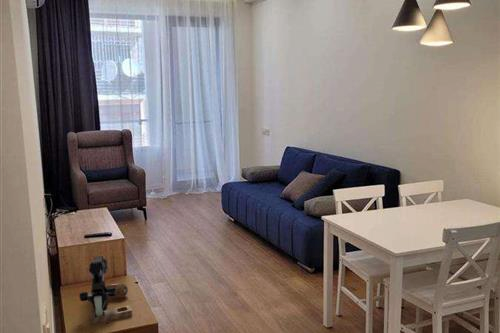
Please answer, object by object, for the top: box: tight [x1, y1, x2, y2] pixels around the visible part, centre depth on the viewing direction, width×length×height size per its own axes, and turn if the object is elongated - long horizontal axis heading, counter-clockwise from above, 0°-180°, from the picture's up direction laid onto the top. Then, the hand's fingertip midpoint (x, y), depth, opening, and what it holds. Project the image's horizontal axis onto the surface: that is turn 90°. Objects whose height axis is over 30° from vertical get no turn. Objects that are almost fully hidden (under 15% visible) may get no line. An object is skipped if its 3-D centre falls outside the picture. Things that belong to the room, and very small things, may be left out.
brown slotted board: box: [90, 304, 133, 325], centre depth 250 cm, size 21×7×3 cm, turn 111°
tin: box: [105, 282, 129, 300], centre depth 275 cm, size 15×3×8 cm, turn 94°
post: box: [94, 296, 104, 317], centre depth 247 cm, size 4×4×13 cm
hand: (98, 309), depth 246 cm, fingers closed on post, 4 cm apart
